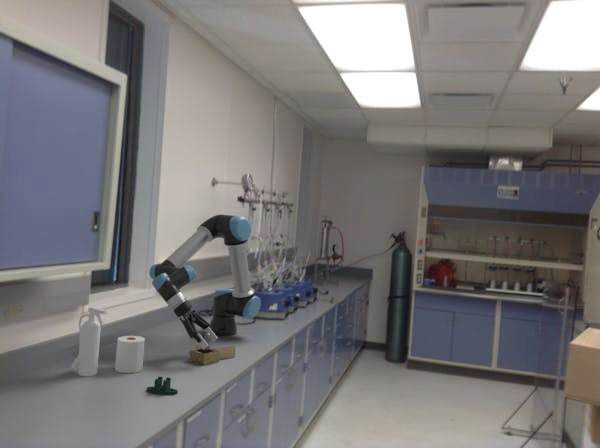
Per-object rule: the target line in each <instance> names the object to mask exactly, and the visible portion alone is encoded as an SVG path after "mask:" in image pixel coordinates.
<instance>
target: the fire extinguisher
mask: <svg viewBox="0 0 600 448" xmlns="http://www.w3.org/2000/svg"><path fill="white" fill-rule="evenodd" d="M107 314H109V310H106V309H103V308H100V307H96V306H89V307H88V310H87V313H84V314H82V315H80V317H79V320H78V327H79V328H78V329H79V343H78V344H79V348H78V351H79V352H78V355H77V357H75V359H74V361H73V362H72V363H71V366H70V368H71V369H72V370H74V371H78V375H79V376H81V377H92V376H96V375H97V374H98V368H99V367H98V365H99V357H100V356H99V354H100V353H99V352H100V343H101V342H100V341H101V330H102V329H101V328H102V327H103V326H105V325H106V322H105V318H104V317H103V315H107ZM85 317H88V319H87V321H84V322H83V321H82V320H83V318H85ZM96 318H97V320H98V321H97V320H96ZM82 322H83V324H82Z"/></svg>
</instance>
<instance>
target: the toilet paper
mask: <svg viewBox="0 0 600 448" xmlns="http://www.w3.org/2000/svg"><path fill="white" fill-rule="evenodd" d="M145 340H146V339H145V337H143V336H140V335H139V336H138V335H123V336H119V337H118V338H117V341H116V343H117V344H116V354H115V355H116V356H115V367H114V370H115V371H116V372H117V373H121V374H122V373H123V374H134V373H139V372H142V371H143V367H144V366H143V365H144V354H145Z"/></svg>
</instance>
